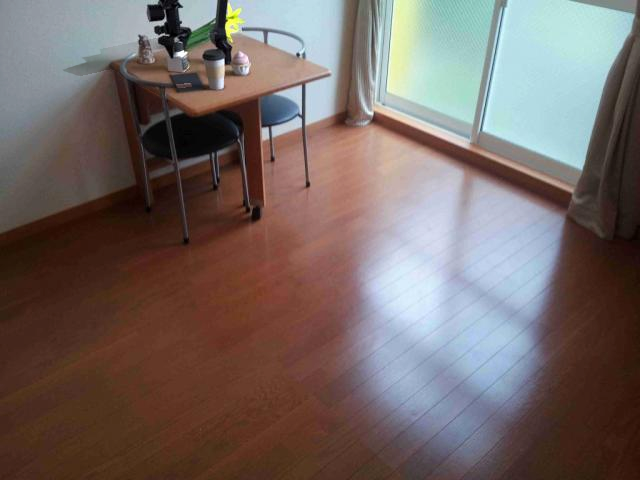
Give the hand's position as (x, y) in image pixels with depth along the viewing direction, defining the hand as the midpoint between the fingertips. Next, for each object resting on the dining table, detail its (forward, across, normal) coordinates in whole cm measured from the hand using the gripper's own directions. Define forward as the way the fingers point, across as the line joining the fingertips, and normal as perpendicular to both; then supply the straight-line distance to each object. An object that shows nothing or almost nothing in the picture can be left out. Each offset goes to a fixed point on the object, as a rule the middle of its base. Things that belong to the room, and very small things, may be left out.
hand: (177, 55), depth 255 cm
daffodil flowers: (+7, -36, -3) cm, 36 cm away
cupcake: (+7, -6, +28) cm, 29 cm away
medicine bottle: (+7, 0, 0) cm, 7 cm away
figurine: (+6, -3, -19) cm, 21 cm away
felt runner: (+6, +12, +12) cm, 18 cm away
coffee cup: (+7, +13, +26) cm, 29 cm away
